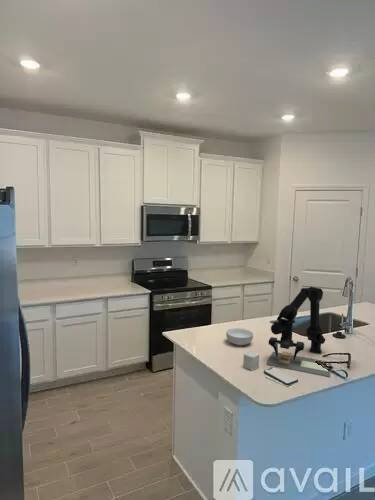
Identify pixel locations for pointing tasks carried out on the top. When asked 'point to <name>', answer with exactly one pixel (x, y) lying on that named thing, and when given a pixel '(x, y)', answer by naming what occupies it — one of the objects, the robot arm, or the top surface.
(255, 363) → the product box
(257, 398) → the top surface
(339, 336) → the top surface
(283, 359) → the two-tone wooden plank
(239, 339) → the cereal bowl
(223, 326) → the top surface
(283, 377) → the smartphone
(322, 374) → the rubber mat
